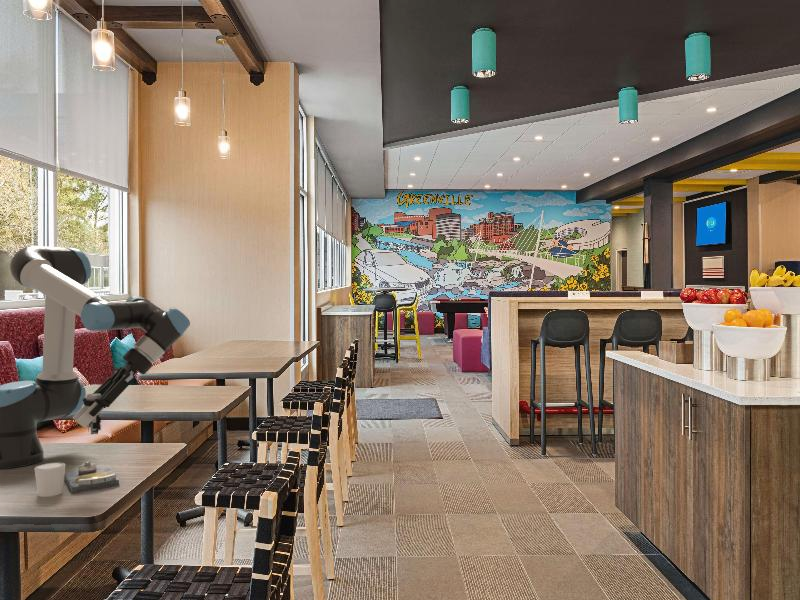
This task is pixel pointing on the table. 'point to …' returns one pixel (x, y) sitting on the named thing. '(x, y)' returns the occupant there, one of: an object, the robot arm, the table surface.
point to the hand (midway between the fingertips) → (78, 422)
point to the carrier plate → (90, 478)
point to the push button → (96, 421)
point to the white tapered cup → (50, 479)
